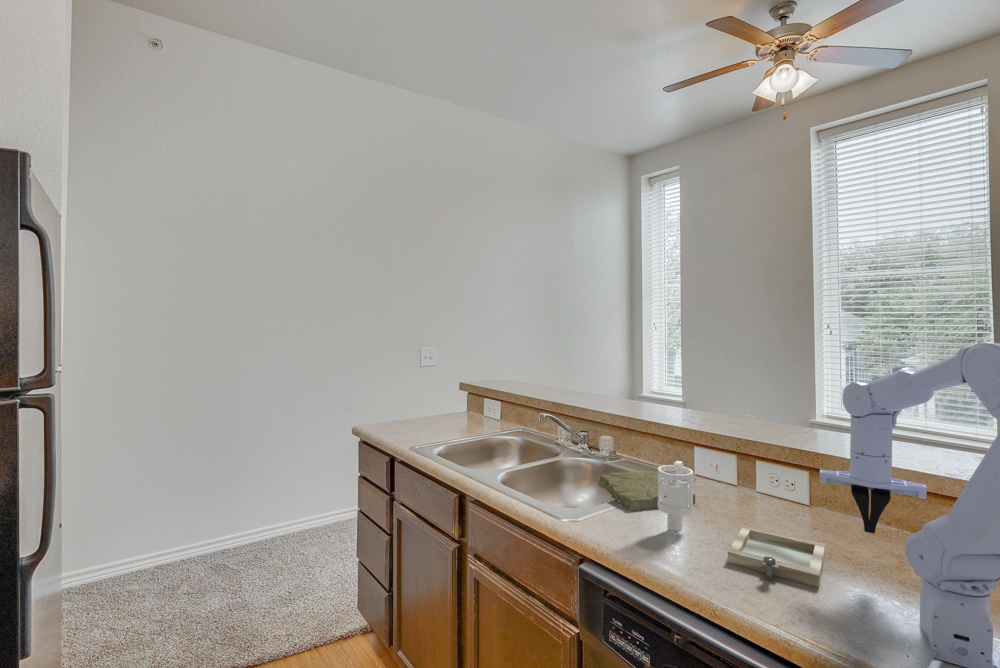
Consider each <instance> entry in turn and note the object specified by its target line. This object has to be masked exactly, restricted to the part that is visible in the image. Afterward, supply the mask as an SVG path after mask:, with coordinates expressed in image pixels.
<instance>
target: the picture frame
mask: <svg viewBox="0 0 1000 668" xmlns="http://www.w3.org/2000/svg"><path fill="white" fill-rule="evenodd" d="M764 557H772V558H774V559H775V560H776V564H775V565H773V576H775V577H779V578H784V579H786V580H790V581H793V582H798V583H801V584H806V585H808V586H812V587H816V588H820V585H821V584H820V582H821V580H822V579H821V578H822V573H823V569H824V563H825V557H826V543H822V542H817V541H813V540H808V539H804V538H800V537H796V536H792V535H791V536H790V535H788V534H787V535H786V534H783V533H778V532H774V531H770V530H765V529H762V528H761V529H760V528H756V527H753V526H748V525H743V526H742V527H741V529H740V531H739V532H738V534H737V536H736V537H735V539H734V541H733V543H732V544H731V546H730V547H729V549H728V550H727V563H729V564H733V565H736V566H739V567H743V568H747V569H750V570H754V571H757V572H762V573H765V574H766V563H764V561H763V560H764Z"/></svg>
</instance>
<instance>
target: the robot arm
mask: <svg viewBox="0 0 1000 668" xmlns="http://www.w3.org/2000/svg"><path fill="white" fill-rule="evenodd" d="M964 384H967V385H968V386H969V387H970V390H972V392H973V393H974V394H975V396H976V397H977V399H978V400H979V401H980V402H981V403H982V405H983V406H984V408H985V409H986V410H987V411H988V413H989V414H990V415H991V417H992V418H995V419H996V420H999V421H1000V343H997V342H986V341H985V342H983V341H982V342H979V343H976V344H973V345H971V346H967V347H962V348H960V349H958V352H957V353H955V354H953V355H951V356H948V357H946V358H944V359H942V360H940V361H938V362H934V363H933V364H931V365H928V366H926V367H924V368H922V369H920V370H919V369H916V368H915V367H908V366H896V367H892V368H891V372H890V373H888V374H885V375H882V376H881V375H880V376H878V375H877V376H874V377H872V378H871V381H868V382H860V381H859V382H858V381H851V382H850V383H849V384H847V385H846V386H845V388H844V390H843V392H842V404H843V407H844V409H845V411H846V412H847V414H850V441H849V444H850V445H849V447H850V448H849V450H850V452H849V453H850V454H849V455H850V457H849V471H840V470H828V469H819V483H820V484H827V483H828V484H832V485H833V484H834V485H841V486H845V487H846V486H847V487H850V492H851V494H852V497H853V499H854V501H855V503H856V505H857V507H858V511H859V513H860V515H861V518H862V522H863V527H864V528H863V531H864V532H865V533H870V534H874V535H875V534H876V529H877V524H878V522H879V520H880V517H881V515H882V513H883V511H885V508H886V507H887V506H888V505H889V503H890V501H891V497H892V496H891V493H892V494H899V495H906V496H912V497H917V498H919V499H921V500H923V499H924V500H927V499H928V498H927V496H928V495H927V494H928V493H927V491H928V489H927V485H926V484H924V483H919V482H913V481H909V480H908V481H907V480H904V479H899V478H894V477H892V476H893V474H892V473H893V469H892V468H893V428H894V427H896V425H897V419H898V416H899V414H900V413H901V412H902V410H904V409H909V408H912V407H915V406H919V405H922V404H926V403H927V402H929V401H930V400H931V399H932V398H933V395H934V392H935V391H936V392H937V391H940V390H944V389H948V388H952V387H956V386H960V385H964ZM869 490H870V491H869ZM904 552H905V556H906V559H907V561H908V563H909V565H910V567H911V568H912V569H913V571H914V573H915V575H916V576H918V577H919V578H920V583H919V584H920V589H919V590H920V594H919V596H920V597H919V627H920V630H921V631H922V632H923V633H924V634H925V636H926V637H927V639H928V643H929V646H930V648H931V650H934V651H936V653H935V654H934V656H933V659H937V660H940V661H943V662H947V663H951V664H952V665H953V664H954V665H957V666H960V667H964V668H1000V664H999V662H998V660H997V657H996V656H995V653H994V627H993V623H992V621H991V605H992V604H991V603H992V593H991V592H993V591H996V590H997V583H998V582H1000V431H999V432H998V434H997V436H996V437H995V439H994V440H993V442H992V443H991V445H990V447H989V448H988V450H987V451H986V453H985V455H984V456H983V458H982V459H981V461H980V463H979V464H978V466H977V468H976V469H975V470H974V472H973V474H972V475H971V477H970V479H968V482H967V483H966V485H965V486H964V488H963V489H962V491H961V493H960V494H959V496H958V497H957V499H956V501H955V502H954V504H953V505H952V507H951V509H950V510H949V512H947V514H945V515H942V516H941V517H938V518H936V519H933V520H931V521H929V522H927V523H924V524H923V526H922V528H921V529H920V530H919V531H917V532H914V533H911V534H910V535H908V536H907V539H906V541H905V549H904Z"/></svg>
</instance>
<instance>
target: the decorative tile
mask: <svg viewBox="0 0 1000 668" xmlns="http://www.w3.org/2000/svg"><path fill="white" fill-rule="evenodd" d="M597 485H598V486H599V487H601V488H602V489H605V490H606V491H607V492H608V494H610V495H611V498H613V500H614V501H616V500H619V501H616V502H617V503H620V505H622V506H624V507H625V508H626V509H628V510H629V511H631V512H636V511H644V510H653V509H658V472H656V471H653V470H629V471H619V472H609V473H606V474H602V475H600V478H599V479H598V481H597ZM668 485H670V486H675V481H668ZM694 504H696V494H695V493H694V492H693V505H694Z"/></svg>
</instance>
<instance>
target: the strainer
mask: <svg viewBox="0 0 1000 668" xmlns="http://www.w3.org/2000/svg"><path fill="white" fill-rule="evenodd" d="M683 463H684V462H683V461H680V460H676V461H674V463H673V464H666V465H665V464H664V465H660V466H658V467H657V474H658V508H657V509H659V510H660V511H661V512H663V513H665V514H667V525H666V527H667V530H666V531H675V532H680V531H683V527H684V526H683V525H684V524H683V518H684V517H683V516H687V515H691V514H692V513H693V512H694V504H693V493H694V471H693V469H691V468H689V467H686V466H684V464H683ZM668 471H673V472H675V473H669V472H668ZM668 481H672V482H674V483H675V486H670V485H668Z"/></svg>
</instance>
